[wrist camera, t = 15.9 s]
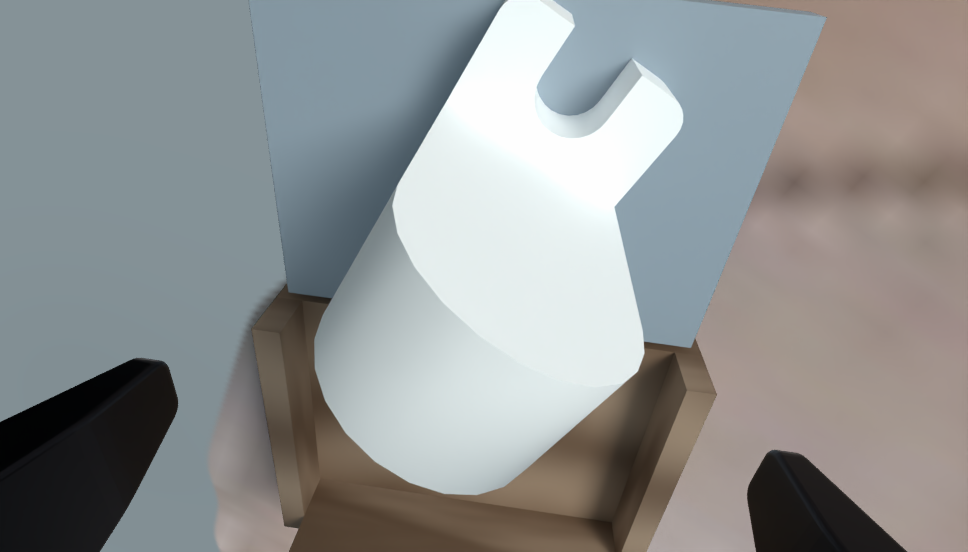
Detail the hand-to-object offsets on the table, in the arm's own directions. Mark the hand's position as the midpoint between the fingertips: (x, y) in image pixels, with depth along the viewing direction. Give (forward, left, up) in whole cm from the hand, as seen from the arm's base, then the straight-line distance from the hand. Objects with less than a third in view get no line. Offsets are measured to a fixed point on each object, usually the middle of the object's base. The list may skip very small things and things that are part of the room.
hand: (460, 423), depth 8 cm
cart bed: (-12, 0, -12) cm, 17 cm away
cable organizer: (0, 0, -10) cm, 10 cm away
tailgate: (-6, 0, -10) cm, 12 cm away
